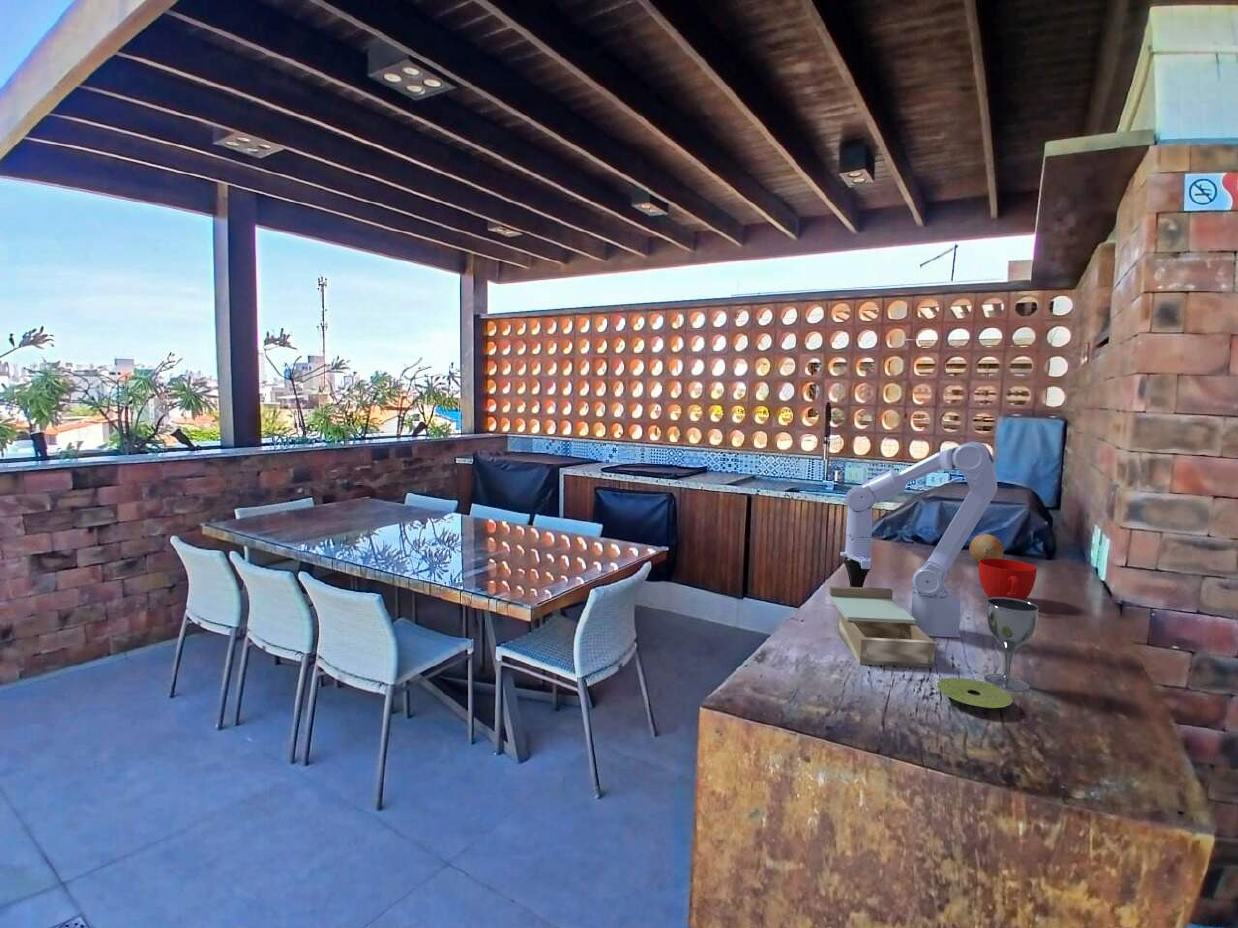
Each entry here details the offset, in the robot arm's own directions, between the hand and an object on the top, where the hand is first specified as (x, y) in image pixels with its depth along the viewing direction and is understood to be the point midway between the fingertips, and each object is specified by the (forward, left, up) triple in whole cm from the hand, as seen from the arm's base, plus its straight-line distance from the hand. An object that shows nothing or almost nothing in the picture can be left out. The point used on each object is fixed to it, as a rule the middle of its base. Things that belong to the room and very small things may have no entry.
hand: (856, 590), depth 149 cm
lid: (0, +11, -1) cm, 11 cm away
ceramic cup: (-43, -16, -7) cm, 46 cm away
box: (0, +21, -6) cm, 22 cm away
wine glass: (-18, +34, -7) cm, 39 cm away
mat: (-8, +43, -7) cm, 44 cm away
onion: (-58, -59, -7) cm, 83 cm away
